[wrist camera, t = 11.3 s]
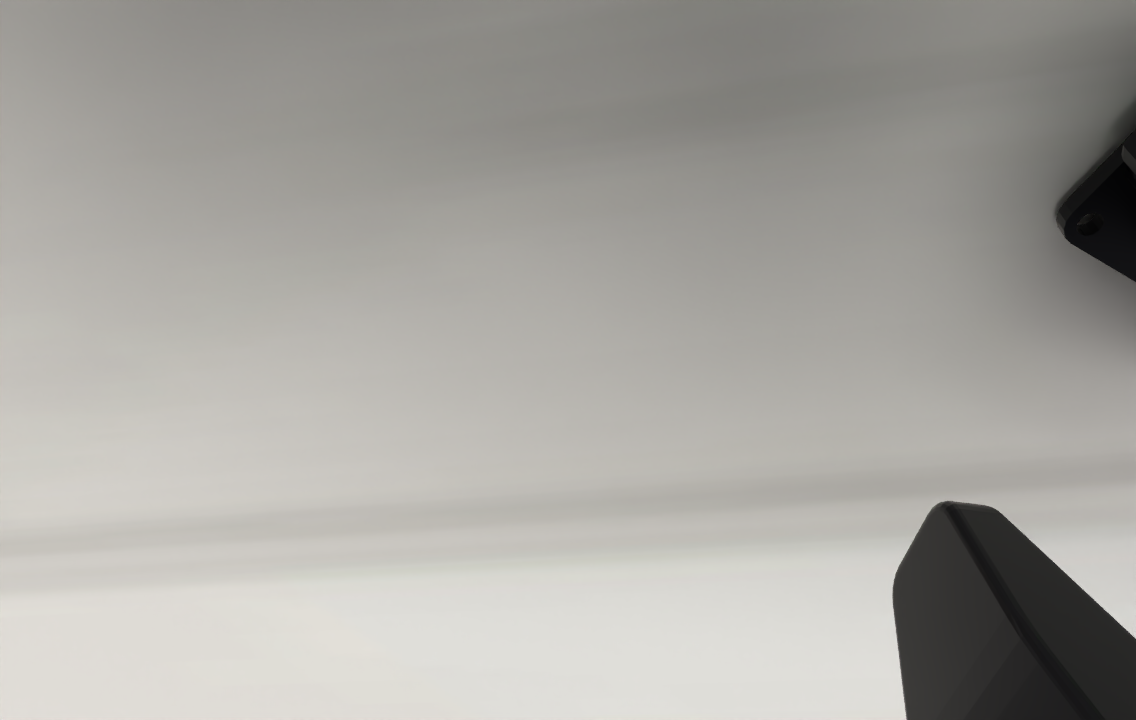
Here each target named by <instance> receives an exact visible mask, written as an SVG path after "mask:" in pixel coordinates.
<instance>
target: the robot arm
mask: <svg viewBox="0 0 1136 720" xmlns="http://www.w3.org/2000/svg"><path fill="white" fill-rule="evenodd" d="M1092 213H1095V215H1094V217H1093V218H1092V220H1090V221H1089V222H1087V223H1086V224H1081V225H1077V224H1078V222H1079V221H1080V219H1081V218H1083V217H1084V216H1086V215H1087V214H1092ZM1056 221H1057V225H1058V228H1059V229H1060V231H1061V232H1062V234H1063V235H1064V237H1065V238H1066V239H1067V240H1068V241H1069V242H1070V243H1071V244H1073V245H1074V246H1076V247H1078V248H1079V249H1081V250H1083V251H1085V252H1086V253H1088V254H1090V255H1091V256H1093V257H1095V258H1096V259H1098V260H1100V261H1101V262H1103V263H1105V264H1106V265H1108V266H1110V267H1111V268H1113V269H1115V270H1117V271H1118V272H1120V273H1122V274H1123V275H1125V276H1127V277H1128V278H1130V279H1132V280H1133V281H1135V282H1136V130H1135V131H1134V132H1133V133H1132V134H1131V135H1130V136H1129V137H1128V138H1127V139H1126V140H1125V142H1124V143H1123V144H1122V145H1121V146H1120V147H1119V148H1118V149H1117V150H1116V151H1115V152H1114V153H1113V154H1112V155H1111V156H1110V157H1109V158H1108V159H1107V160H1106V161H1105V162H1104V163H1103V164H1102V165H1101V166H1100V167H1099V168H1098V169H1097V170H1096V171H1095V172H1094V173H1093V174H1092V175H1091V176H1090V177H1089V178H1088V179H1087V180H1086V181H1085V182H1084V183H1083V184H1082V185H1081V186H1080V187H1079V188H1078V189H1077V190H1076V191H1075V192H1074V193H1073V194H1072V195H1071V196H1070V197H1069V198H1068V199H1067V200H1066V201H1065V203H1064V204H1063V205H1062V207H1061V208H1060V209H1059V211H1058V214H1057V218H1056ZM893 608H894V617H895V625H896V634H897V642H898V651H899V659H900V668H901V676H902V685H903V694H904V702H905V711H906V719H907V720H1136V639H1135V638H1134V637H1133V636H1132V635H1131V634H1130V633H1129V632H1128V631H1127V630H1126V629H1125V628H1123V627H1122V626H1121V625H1120V624H1119V623H1118V622H1117V621H1116V620H1115V619H1114V618H1113V617H1112V616H1111V615H1110V614H1109V613H1107V612H1106V611H1105V610H1104V609H1103V608H1102V607H1101V606H1100V605H1099V604H1098V603H1097V602H1096V601H1095V600H1094V599H1092V598H1091V597H1090V596H1089V595H1088V594H1087V593H1086V592H1085V591H1084V590H1083V589H1082V588H1081V587H1080V586H1079V585H1077V584H1076V583H1075V582H1074V581H1073V580H1072V579H1071V578H1070V577H1069V576H1068V575H1067V574H1066V573H1065V572H1064V571H1062V570H1061V569H1060V568H1059V567H1058V566H1057V565H1056V564H1055V563H1054V562H1053V561H1052V560H1051V559H1050V558H1049V557H1047V556H1046V555H1045V554H1044V553H1043V552H1042V551H1041V550H1040V549H1039V548H1038V547H1037V546H1036V545H1035V544H1034V543H1032V542H1031V541H1030V540H1029V539H1028V538H1027V537H1026V536H1025V535H1024V534H1023V533H1022V532H1021V531H1020V530H1019V529H1017V528H1016V527H1015V526H1014V525H1013V524H1012V523H1011V522H1010V521H1009V520H1008V519H1007V518H1006V517H1005V516H1004V515H1002V514H1001V513H1000V512H999V511H997V510H996V509H994V508H992V507H989V506H986V505H978V504H970V503H962V502H954V501H945V502H940V503H939V504H937V505H936V506H934V507H933V508H932V509H931V511H930V512H929V514H928V515H927V517H926V519H925V521H924V522H923V524H922V526H921V528H920V530H919V531H918V533H917V535H916V537H915V539H914V540H913V542H912V544H911V546H910V548H909V549H908V551H907V553H906V555H905V556H904V558H903V560H902V562H901V564H900V565H899V567H898V570H897V572H896V575H895V579H894V584H893Z"/></svg>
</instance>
